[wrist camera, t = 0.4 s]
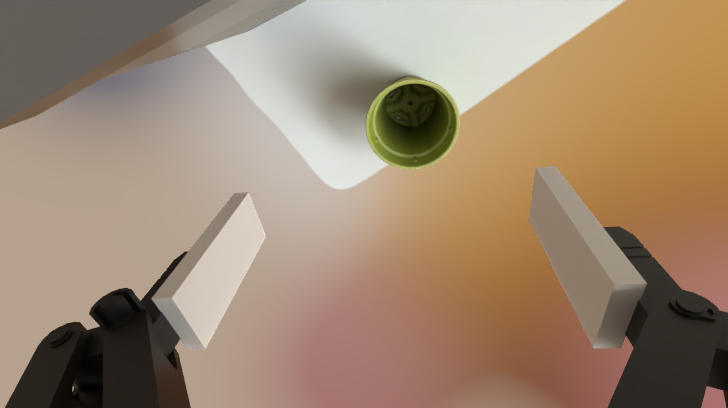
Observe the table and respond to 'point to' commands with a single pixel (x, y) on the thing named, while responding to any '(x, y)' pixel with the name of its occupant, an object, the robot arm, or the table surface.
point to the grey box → (105, 42)
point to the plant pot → (412, 124)
